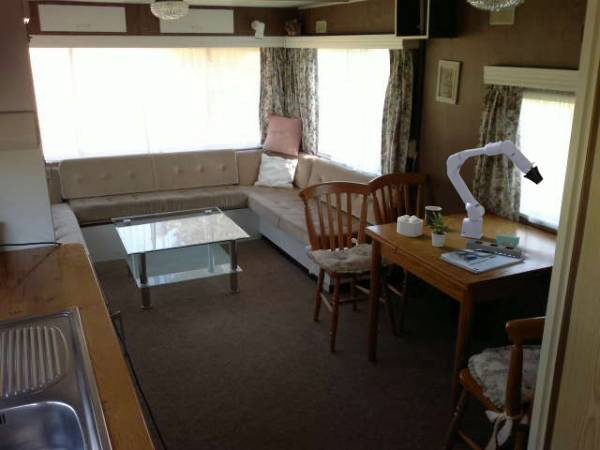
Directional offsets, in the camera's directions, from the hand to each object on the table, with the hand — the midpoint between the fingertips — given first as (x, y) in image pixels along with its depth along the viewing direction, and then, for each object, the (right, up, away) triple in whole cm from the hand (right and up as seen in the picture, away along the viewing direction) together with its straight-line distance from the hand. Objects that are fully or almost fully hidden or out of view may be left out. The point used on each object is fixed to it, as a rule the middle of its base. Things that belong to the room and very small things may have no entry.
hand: (540, 182), depth 259 cm
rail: (-22, -33, 0) cm, 39 cm away
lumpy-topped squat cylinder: (-57, -24, +26) cm, 68 cm away
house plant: (-48, -30, +8) cm, 57 cm away
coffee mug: (-43, -21, +38) cm, 61 cm away
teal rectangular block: (-13, -31, +7) cm, 34 cm away
